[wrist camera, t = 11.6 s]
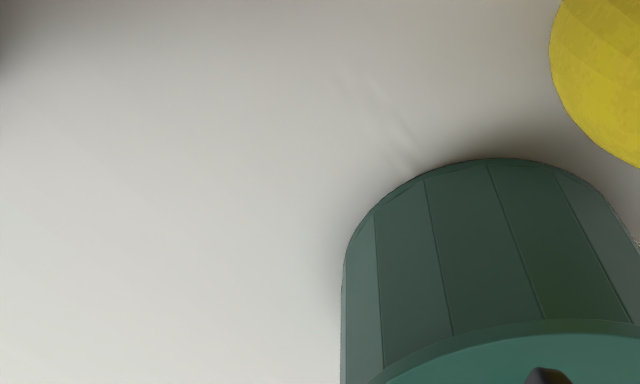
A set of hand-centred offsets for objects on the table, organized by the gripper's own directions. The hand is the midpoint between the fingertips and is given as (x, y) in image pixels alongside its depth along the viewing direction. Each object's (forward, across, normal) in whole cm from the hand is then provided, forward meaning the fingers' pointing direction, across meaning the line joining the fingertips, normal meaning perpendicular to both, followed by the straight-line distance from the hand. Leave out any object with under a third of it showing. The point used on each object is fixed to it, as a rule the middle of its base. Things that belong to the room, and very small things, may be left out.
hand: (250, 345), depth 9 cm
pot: (+12, -9, +8) cm, 17 cm away
